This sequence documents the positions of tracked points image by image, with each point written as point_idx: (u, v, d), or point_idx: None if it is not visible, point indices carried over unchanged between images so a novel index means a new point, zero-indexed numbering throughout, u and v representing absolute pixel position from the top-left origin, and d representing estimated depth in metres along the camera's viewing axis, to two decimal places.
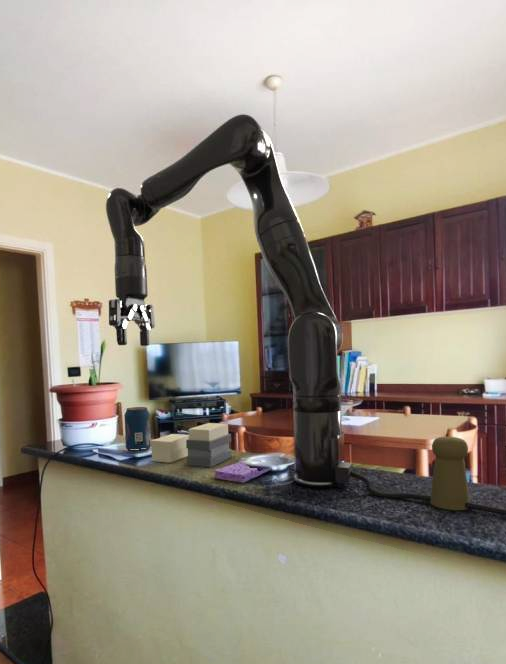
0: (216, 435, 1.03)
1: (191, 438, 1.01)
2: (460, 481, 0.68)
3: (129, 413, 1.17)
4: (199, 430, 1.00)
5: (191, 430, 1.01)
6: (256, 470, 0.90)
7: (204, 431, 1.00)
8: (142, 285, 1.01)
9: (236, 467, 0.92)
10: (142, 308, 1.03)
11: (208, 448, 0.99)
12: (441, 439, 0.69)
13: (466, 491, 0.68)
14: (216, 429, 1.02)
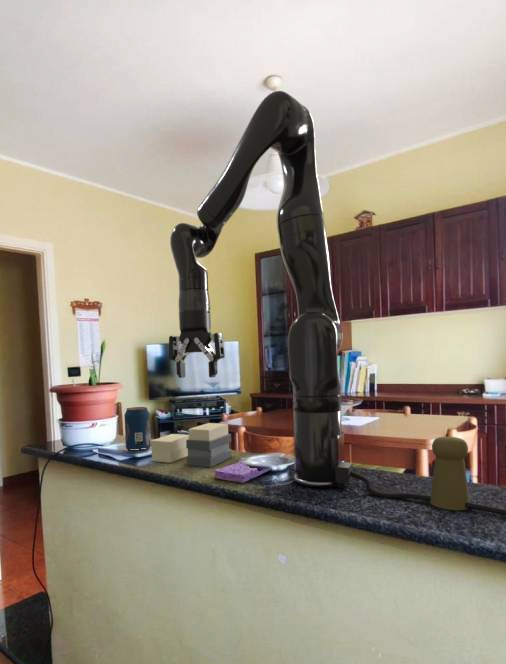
0: (216, 435, 1.03)
1: (191, 438, 1.01)
2: (460, 481, 0.68)
3: (129, 413, 1.17)
4: (199, 430, 1.00)
5: (191, 430, 1.01)
6: (256, 470, 0.90)
7: (204, 431, 1.00)
8: (185, 318, 1.00)
9: (236, 467, 0.92)
10: (196, 340, 1.01)
11: (208, 448, 0.99)
12: (441, 439, 0.69)
13: (466, 491, 0.68)
14: (216, 429, 1.02)
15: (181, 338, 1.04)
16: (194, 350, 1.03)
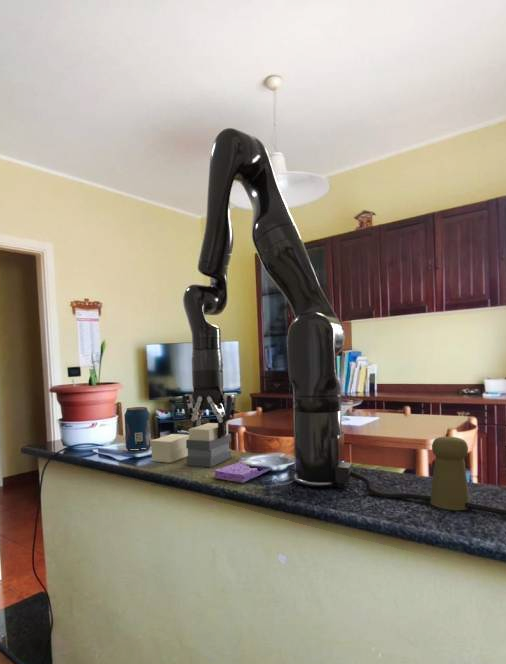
0: (216, 435, 1.03)
1: (191, 438, 1.01)
2: (460, 481, 0.68)
3: (129, 413, 1.17)
4: (199, 430, 1.00)
5: (191, 430, 1.01)
6: (256, 470, 0.90)
7: (204, 431, 1.00)
8: (198, 378, 1.01)
9: (236, 467, 0.92)
10: (209, 399, 1.02)
11: (208, 448, 0.99)
12: (441, 439, 0.69)
13: (466, 491, 0.68)
14: (216, 429, 1.02)
15: (194, 396, 1.05)
16: (207, 408, 1.03)
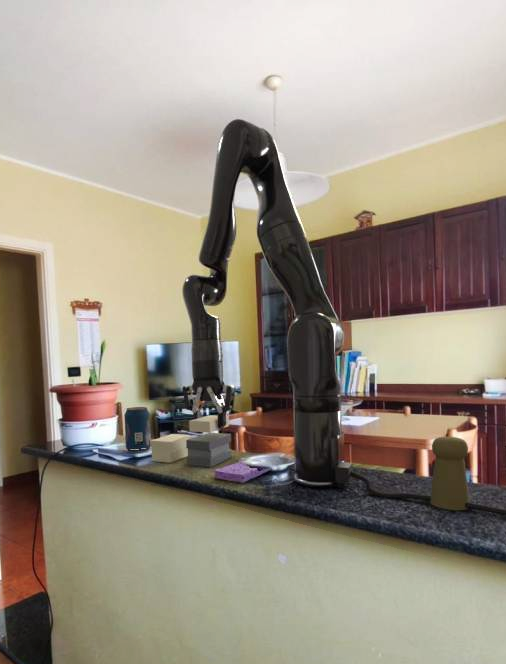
0: (217, 426, 1.02)
1: (192, 430, 1.01)
2: (460, 481, 0.68)
3: (129, 413, 1.17)
4: (200, 422, 1.00)
5: (192, 422, 1.01)
6: (256, 470, 0.90)
7: (205, 423, 1.00)
8: (198, 369, 1.01)
9: (236, 467, 0.92)
10: (209, 389, 1.02)
11: (208, 448, 0.99)
12: (441, 439, 0.69)
13: (466, 491, 0.68)
14: (217, 421, 1.02)
15: (194, 386, 1.05)
16: (207, 399, 1.04)
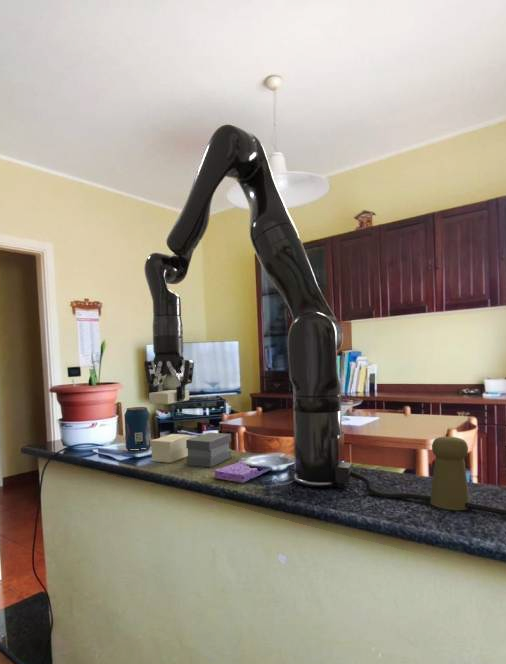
0: (176, 399, 1.07)
1: (151, 402, 1.06)
2: (460, 481, 0.68)
3: (129, 413, 1.17)
4: (159, 394, 1.05)
5: (151, 394, 1.06)
6: (256, 470, 0.90)
7: (163, 394, 1.04)
8: (158, 343, 1.05)
9: (236, 467, 0.92)
10: (169, 363, 1.06)
11: (208, 448, 0.99)
12: (441, 439, 0.69)
13: (466, 491, 0.68)
14: (176, 394, 1.07)
15: (155, 361, 1.09)
16: (167, 373, 1.08)
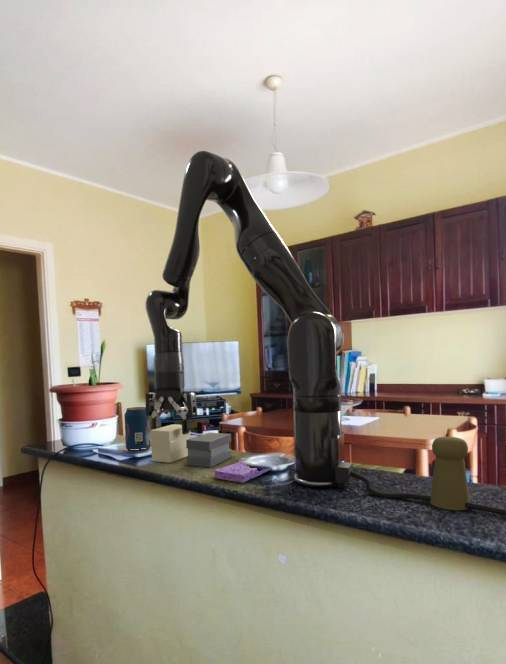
0: (177, 436, 1.08)
1: (153, 439, 1.06)
2: (460, 481, 0.68)
3: (129, 413, 1.17)
4: (160, 431, 1.05)
5: (153, 431, 1.06)
6: (256, 470, 0.90)
7: (165, 432, 1.05)
8: (159, 379, 1.06)
9: (236, 467, 0.92)
10: (170, 399, 1.07)
11: (208, 448, 0.99)
12: (441, 439, 0.69)
13: (466, 491, 0.68)
14: (177, 430, 1.07)
15: (157, 396, 1.10)
16: (168, 408, 1.09)
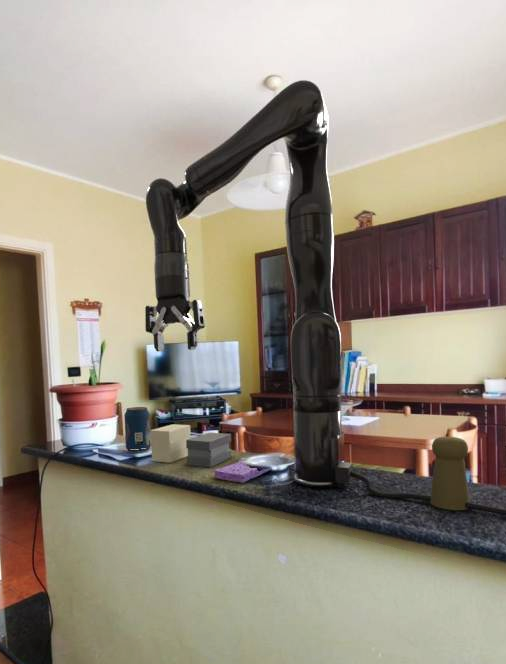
0: (177, 436, 1.08)
1: (153, 439, 1.06)
2: (460, 481, 0.68)
3: (129, 413, 1.17)
4: (160, 431, 1.05)
5: (153, 431, 1.06)
6: (256, 470, 0.90)
7: (165, 432, 1.05)
8: (160, 285, 0.91)
9: (236, 467, 0.92)
10: (173, 308, 0.92)
11: (208, 448, 0.99)
12: (441, 439, 0.69)
13: (466, 491, 0.68)
14: (177, 430, 1.07)
15: (158, 308, 0.95)
16: (172, 320, 0.94)
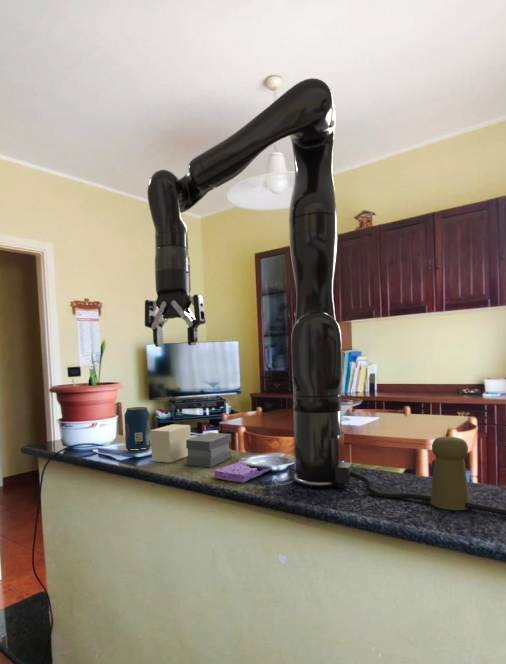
0: (177, 436, 1.08)
1: (153, 439, 1.06)
2: (460, 481, 0.68)
3: (129, 413, 1.17)
4: (160, 431, 1.05)
5: (153, 431, 1.06)
6: (256, 470, 0.90)
7: (165, 432, 1.05)
8: (161, 279, 0.90)
9: (236, 467, 0.92)
10: (174, 303, 0.91)
11: (208, 448, 0.99)
12: (441, 439, 0.69)
13: (466, 491, 0.68)
14: (177, 430, 1.07)
15: (158, 302, 0.94)
16: (172, 315, 0.92)
